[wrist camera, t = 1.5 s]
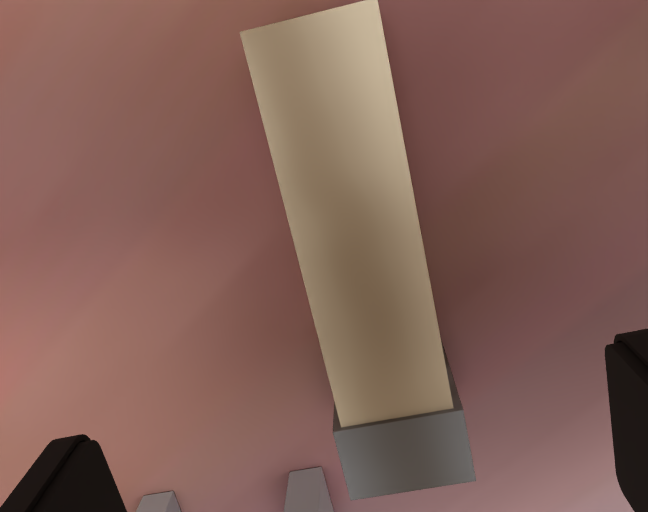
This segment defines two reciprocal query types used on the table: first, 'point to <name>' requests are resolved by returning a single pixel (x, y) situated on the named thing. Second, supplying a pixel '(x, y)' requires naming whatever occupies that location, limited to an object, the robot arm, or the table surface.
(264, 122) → the tan and gray block
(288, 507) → the gray forked clamp
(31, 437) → the table surface
